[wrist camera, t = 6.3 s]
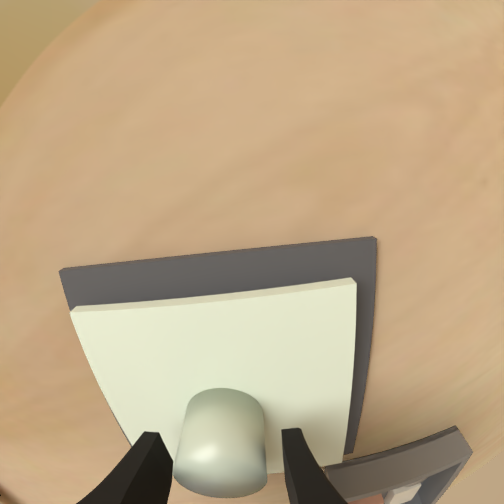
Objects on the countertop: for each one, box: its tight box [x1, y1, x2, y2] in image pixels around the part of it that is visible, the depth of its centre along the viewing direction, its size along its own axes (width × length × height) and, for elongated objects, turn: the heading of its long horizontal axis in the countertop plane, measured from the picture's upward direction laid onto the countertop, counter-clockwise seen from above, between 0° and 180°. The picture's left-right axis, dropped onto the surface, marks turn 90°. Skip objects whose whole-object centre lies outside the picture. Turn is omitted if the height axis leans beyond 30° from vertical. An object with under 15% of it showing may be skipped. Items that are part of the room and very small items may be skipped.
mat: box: [59, 236, 376, 455], centre depth 13 cm, size 13×13×1 cm
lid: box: [69, 277, 357, 498], centre depth 10 cm, size 11×11×5 cm
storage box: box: [325, 426, 473, 504], centre depth 15 cm, size 10×10×3 cm
